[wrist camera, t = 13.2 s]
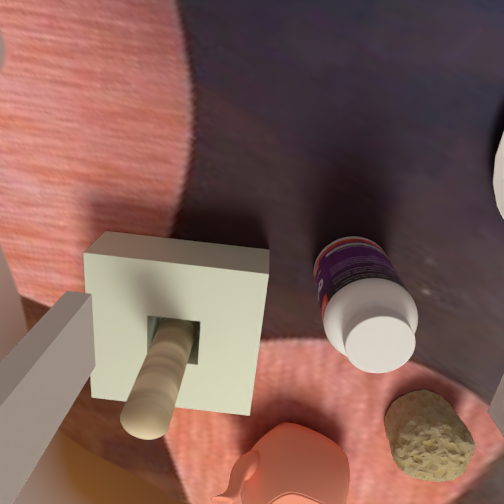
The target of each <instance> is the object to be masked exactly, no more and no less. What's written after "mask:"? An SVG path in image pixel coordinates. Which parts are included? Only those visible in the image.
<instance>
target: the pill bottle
mask: <svg viewBox="0 0 504 504" xmlns="http://www.w3.org/2000/svg"><path fill="white" fill-rule="evenodd" d="M314 280H315V285H316V289H317V294H318V299H319V304H320V309H321V314H322V319H323V324H324V329H325V333H326V335H327V337H328V339H329V341H330V343H331V344H332V345H333V346H334V347H335V348H336V349H337V350H338V351H339V352H340V353H342V354H343V355H345V356H347V357H348V359H349V360H350V362H351V363H352V364H353V365H354V366H356V367H357V368H359V369H361V370H363V371H366V372H370V373H385V372H389V371H392V370H395V369H397V368H399V367H400V366H402V365H403V364H405V363H406V362H407V361H408V360H409V358H410V357H411V355H412V354H413V351H414V348H415V335H414V334H415V331H416V328H417V323H418V312H417V308H416V305H415V303H414V301H413V299H412V297H411V295H410V294H409V292H408V291H407V289H406V287H405V286H404V284H403V282H402V281H401V279H400V278H399V276H398V274H397V273H396V271H395V269H394V267H393V266H392V264H391V262H390V261H389V259H388V257H387V255H386V254H385V252H384V251H383V250H382V249H381V247H380V246H378V245H377V244H376V243H374V242H373V241H371V240H369V239H366V238H363V237H357V236H350V237H344V238H340V239H337V240H335V241H333V242H332V243H330V244H329V245H327V246H326V247H325V248H324V249H323V250H322V251H321V252H320V254H319V255H318V257H317V259H316V262H315V265H314Z"/></svg>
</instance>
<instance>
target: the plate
mask: <svg viewBox="0 0 504 504" xmlns="http://www.w3.org/2000/svg"><path fill="white" fill-rule="evenodd" d="M493 187H494V192H495V198H496V203H497V207H498V209H499V211H500V213H501V215H502V217H503V219H504V131H503V134H502V137H501V140H500V143H499V146H498V149H497V152H496V155H495V164H494V175H493Z"/></svg>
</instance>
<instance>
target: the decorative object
mask: <svg viewBox="0 0 504 504" xmlns="http://www.w3.org/2000/svg"><path fill="white" fill-rule="evenodd" d="M384 426H385V432H386V436H387V438H388V440H389V442H390V448H391V454H392V456H393V459H394V461H395V462H396V464H397V466H398V468H399V469H401V470H402V471H403V472H404V473H405V474H406V475H408V476H411V477H415V478H418V479H421V480H426V481H436V482H442V481H449V480H453V479H455V478H456V477H460V476H461V475H462V474H463V473H465V470H466V467H467V463H468V462H469V461H470V458H471V457H472V456H473V452H474V449H475V443H474V441H473V438H472V436H471V434H470V432H469V431H468V429H467V427H466V425H465V424H464V423H463V422H462V420H461V419H460V417H459V416H458V415H457V413H456V412H455V411H454V410H453V407H452V406H451V405H450V404H449V403H448V402H447V401H446V400H445V399H444V398H443V397H442V396H441V395H439V394H436V393H434V392H432V391H428V390H425V389H423V390H420V391H418V390H416V391H413V392H409V393H407V394H405V395H404V396H402V397H399V398H398V399H397V400H395V401H393V403H392V404H391V406H390V407H389V409H388V411H387V414H386V416H385V423H384Z"/></svg>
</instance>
